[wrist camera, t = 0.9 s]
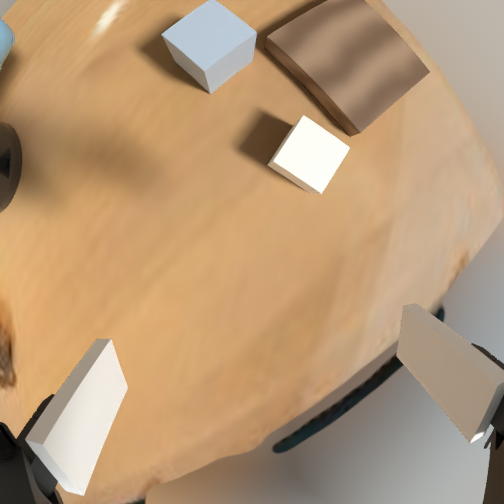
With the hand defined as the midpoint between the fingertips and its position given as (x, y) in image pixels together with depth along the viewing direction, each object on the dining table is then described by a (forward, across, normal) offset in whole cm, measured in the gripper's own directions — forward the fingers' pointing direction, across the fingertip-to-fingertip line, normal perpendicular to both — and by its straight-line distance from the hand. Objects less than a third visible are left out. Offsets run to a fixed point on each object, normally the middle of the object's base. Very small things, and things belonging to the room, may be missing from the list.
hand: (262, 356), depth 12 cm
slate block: (+26, -2, +24) cm, 35 cm away
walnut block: (+26, +16, +23) cm, 39 cm away
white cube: (+26, +8, +10) cm, 28 cm away
